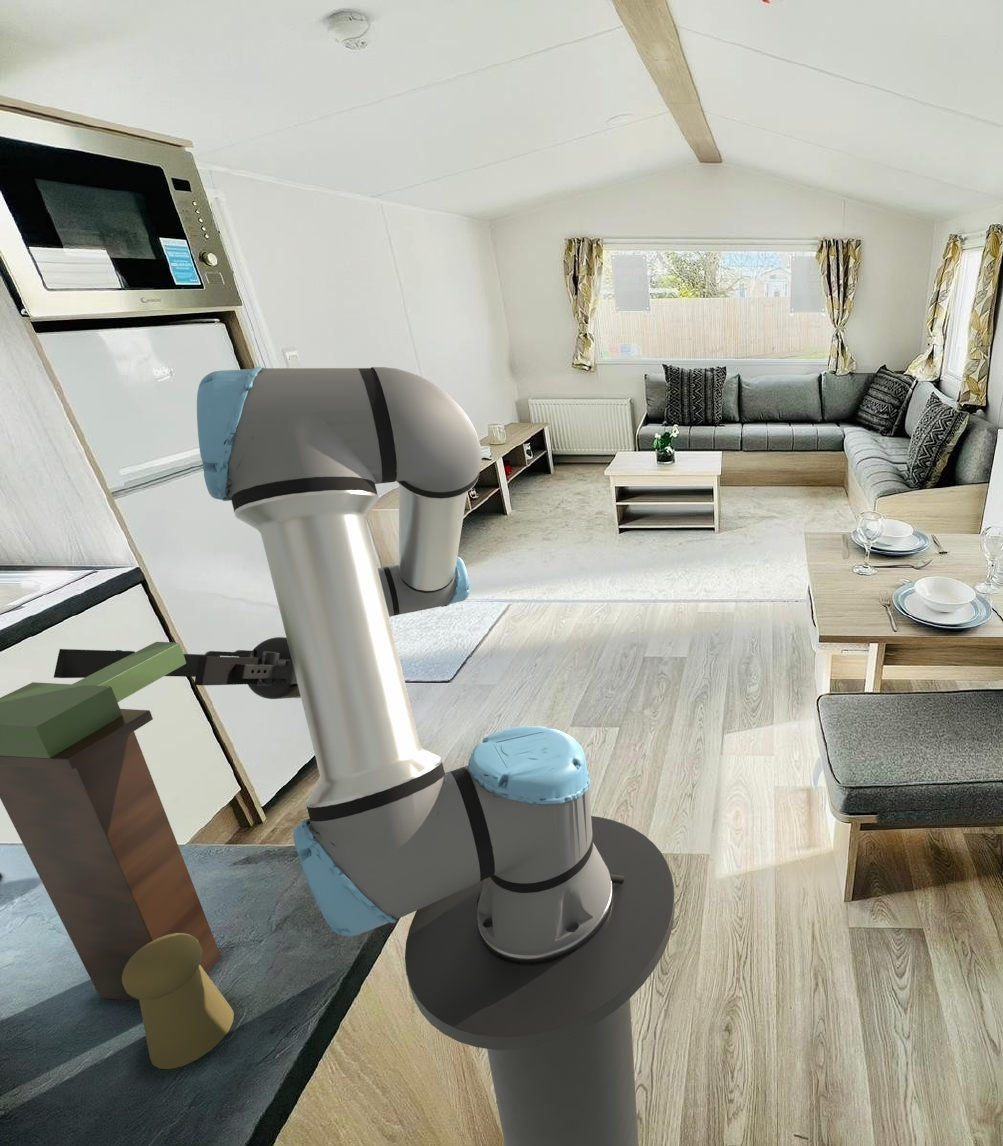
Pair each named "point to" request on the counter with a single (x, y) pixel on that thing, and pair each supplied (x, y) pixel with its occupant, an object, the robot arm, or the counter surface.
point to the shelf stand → (105, 849)
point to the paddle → (78, 703)
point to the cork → (176, 1000)
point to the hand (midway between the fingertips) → (129, 667)
